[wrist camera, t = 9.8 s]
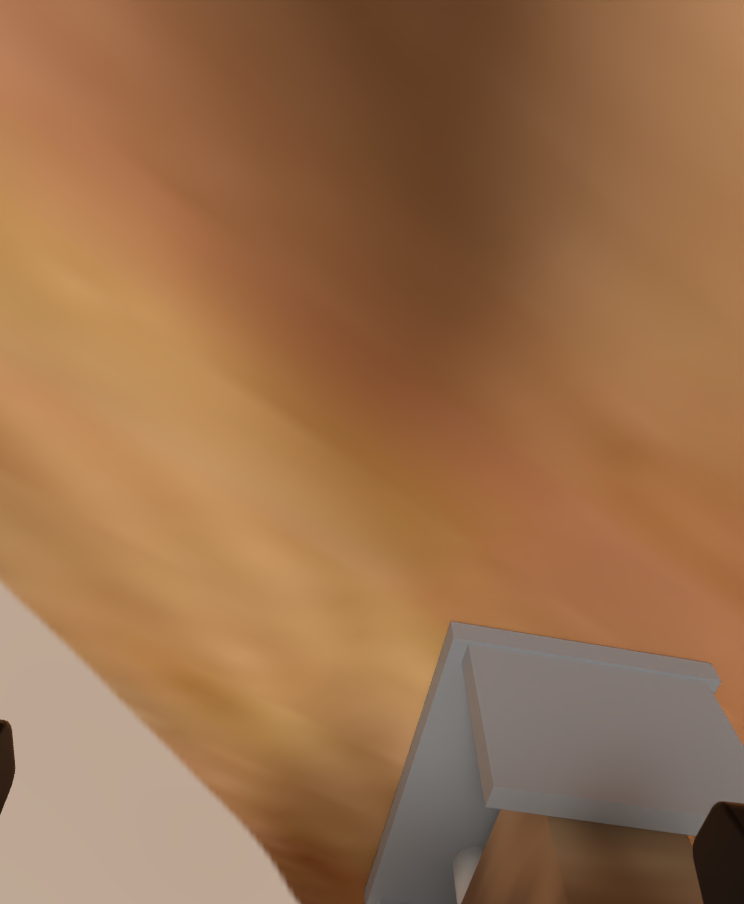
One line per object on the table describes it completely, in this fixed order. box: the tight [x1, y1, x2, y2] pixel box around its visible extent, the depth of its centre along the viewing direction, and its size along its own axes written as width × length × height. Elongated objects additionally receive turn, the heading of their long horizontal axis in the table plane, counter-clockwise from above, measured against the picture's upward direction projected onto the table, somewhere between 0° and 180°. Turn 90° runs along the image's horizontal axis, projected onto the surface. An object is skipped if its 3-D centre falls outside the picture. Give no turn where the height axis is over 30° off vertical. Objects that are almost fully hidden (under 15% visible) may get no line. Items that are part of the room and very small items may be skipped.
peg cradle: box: [364, 621, 744, 904], centre depth 24 cm, size 14×9×6 cm, turn 168°
